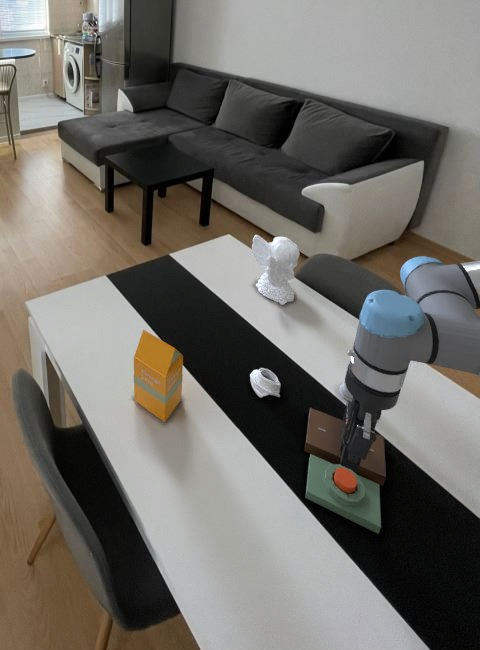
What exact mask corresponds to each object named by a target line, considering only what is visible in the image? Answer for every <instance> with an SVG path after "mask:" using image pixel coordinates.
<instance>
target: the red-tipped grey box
mask: <svg viewBox="0 0 480 650" xmlns="http://www.w3.org/2000/svg"><path fill="white" fill-rule="evenodd" d="M351 406H352V402H351V401H349V400H346V404H345V408H344V412H343V416H342V419H341V420H342V424H341V435H340V450H341V451H343V448H344V445H343V438H345V439H346V437H347V435H348V436H350V435H349V434H348V432H347V429H348V428H349V422H348V418H349V416H350V411H351Z"/></svg>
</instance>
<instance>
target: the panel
mask: <svg viewBox="0 0 480 650" xmlns="http://www.w3.org/2000/svg"><path fill="white" fill-rule="evenodd" d="M342 420H343V419H340V418H338V417H335V416H333V415H330V414H328V413H325V412H322V411H320V410H317V409H314V408H312V407H310V408H309V411H308V416H307V425H306V432H305V433H306V434H305V443H304V452H305V453H307V454H309V455H310V454H312V455H314V456H316V457H319V458H321V459H323V460H325V461H327V462H330V463H332V464H341V455H342V452H343V451H341V450H340V435H341V424H342ZM374 434H376V440H375V442H373V443H372V445H371V448H370V450H369V452H368V454H367V456H366V458H365V460H363V459H361V462H360V465H359V469H358V472H355V471H353V470H352V471H353V472H354V473H356V474H357V475H359V476H361V477H363V478H366V479H368V480H370V481H372V482H375V483H377V484H379V486H381V487H384V484H385V481H386V479H387V471H386V470H387V469H386V451H385V437H384V436H382V435H380V434H378V433H374Z"/></svg>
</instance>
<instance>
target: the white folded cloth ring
mask: <svg viewBox="0 0 480 650" xmlns="http://www.w3.org/2000/svg"><path fill="white" fill-rule="evenodd" d="M249 377H250V378H249V380H250V385H251V388H252V389H253V391H254V393H255V394H256V395H257V396H258V397H259V398H260V399H262V398H263V397H266V396H269V395H270V396H275V397H277V398H280V397H281V395H280V392H281V387H282V386H281V382H280V381H279V378H278V376H277V375H276V374H275V373H274V372H273V371H272V370H270V369H268V368H264V367H259V369H253V370H252V371H251V372H250V374H249Z"/></svg>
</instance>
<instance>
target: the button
mask: <svg viewBox="0 0 480 650" xmlns="http://www.w3.org/2000/svg"><path fill="white" fill-rule="evenodd" d="M334 482H335V484H336V486H337V487H338V488H339V489H340V490H341V491H343V492H345V493H349V494H350V493H353V492H354V491H355V489H356V485H357V480H356V477H355V476H354V474H353V473H352V472H350V471H349V470H347V469H345V468H338V469H337V470H336V471H335V475H334Z"/></svg>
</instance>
